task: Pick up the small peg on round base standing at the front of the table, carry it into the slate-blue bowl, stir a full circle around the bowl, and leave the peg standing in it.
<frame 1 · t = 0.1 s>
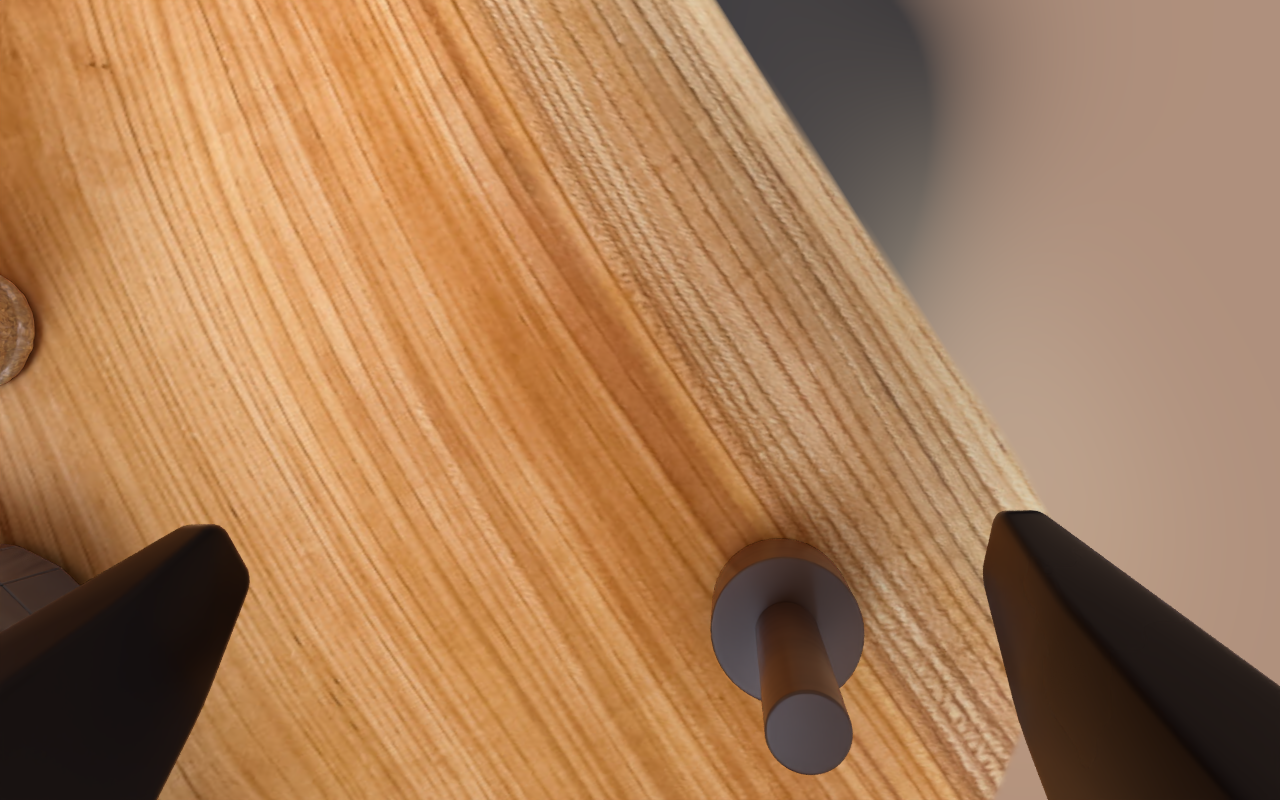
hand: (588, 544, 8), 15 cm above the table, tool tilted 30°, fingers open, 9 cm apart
bowl: (4, 698, 27), on the table
peg on round base: (780, 605, 23), on the table
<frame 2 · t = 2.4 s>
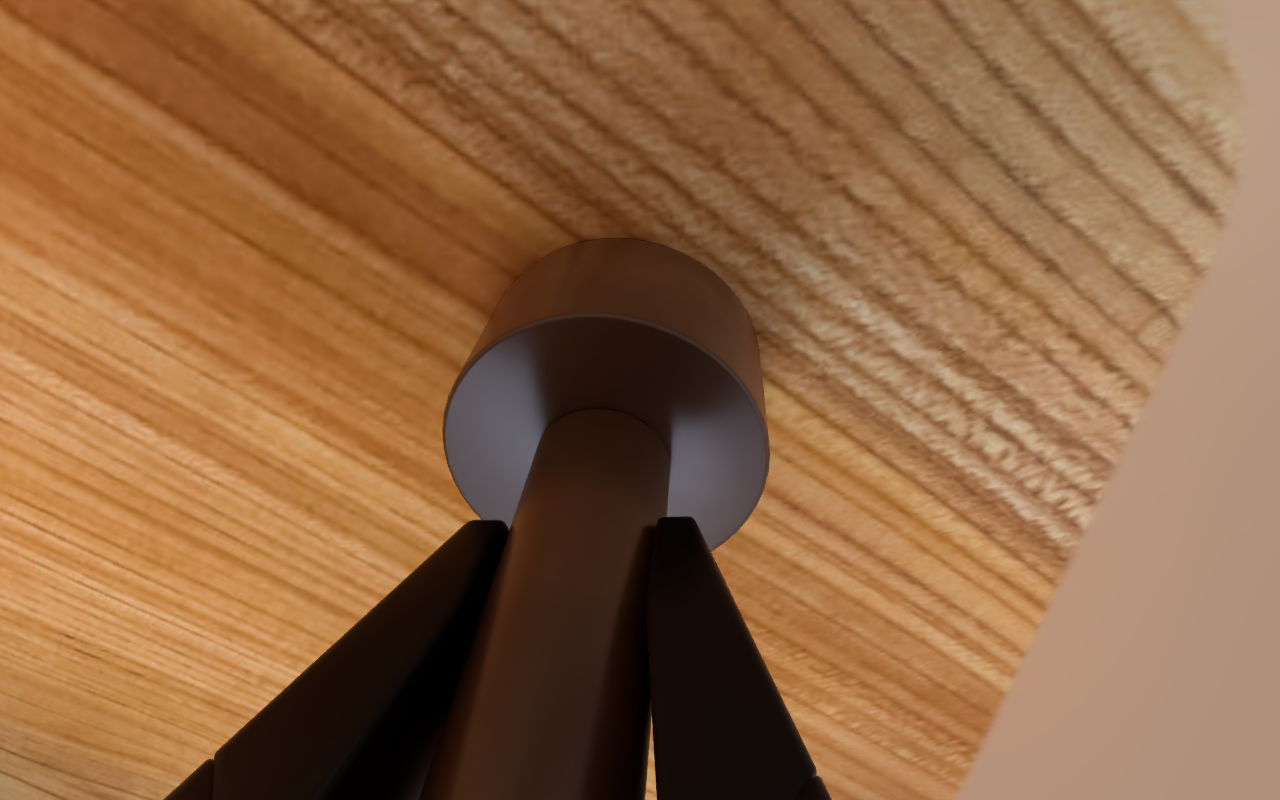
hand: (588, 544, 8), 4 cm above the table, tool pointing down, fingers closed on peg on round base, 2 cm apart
peg on round base: (622, 366, 12), on the table, touching gripper
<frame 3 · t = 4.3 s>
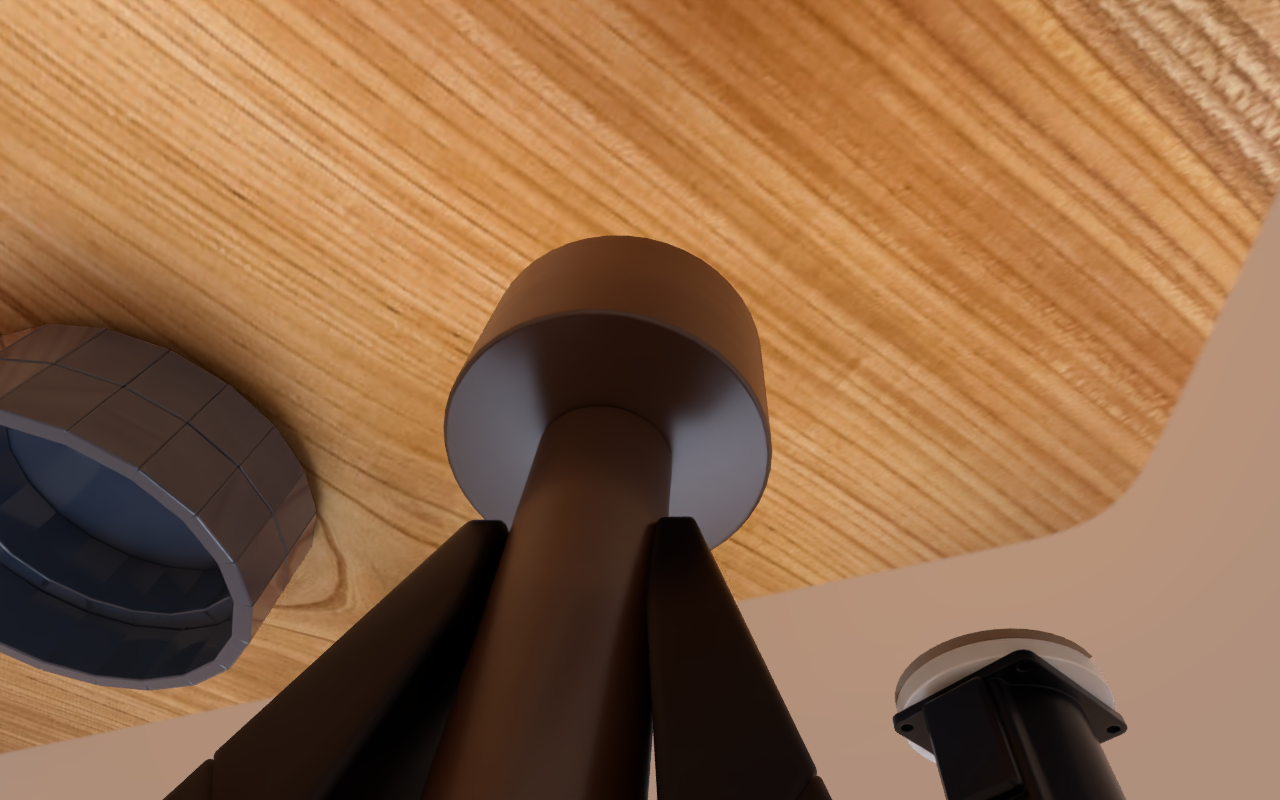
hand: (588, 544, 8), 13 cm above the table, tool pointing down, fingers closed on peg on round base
bowl: (156, 466, 26), on the table
peg on round base: (624, 364, 12), point 9 cm above the table, touching gripper
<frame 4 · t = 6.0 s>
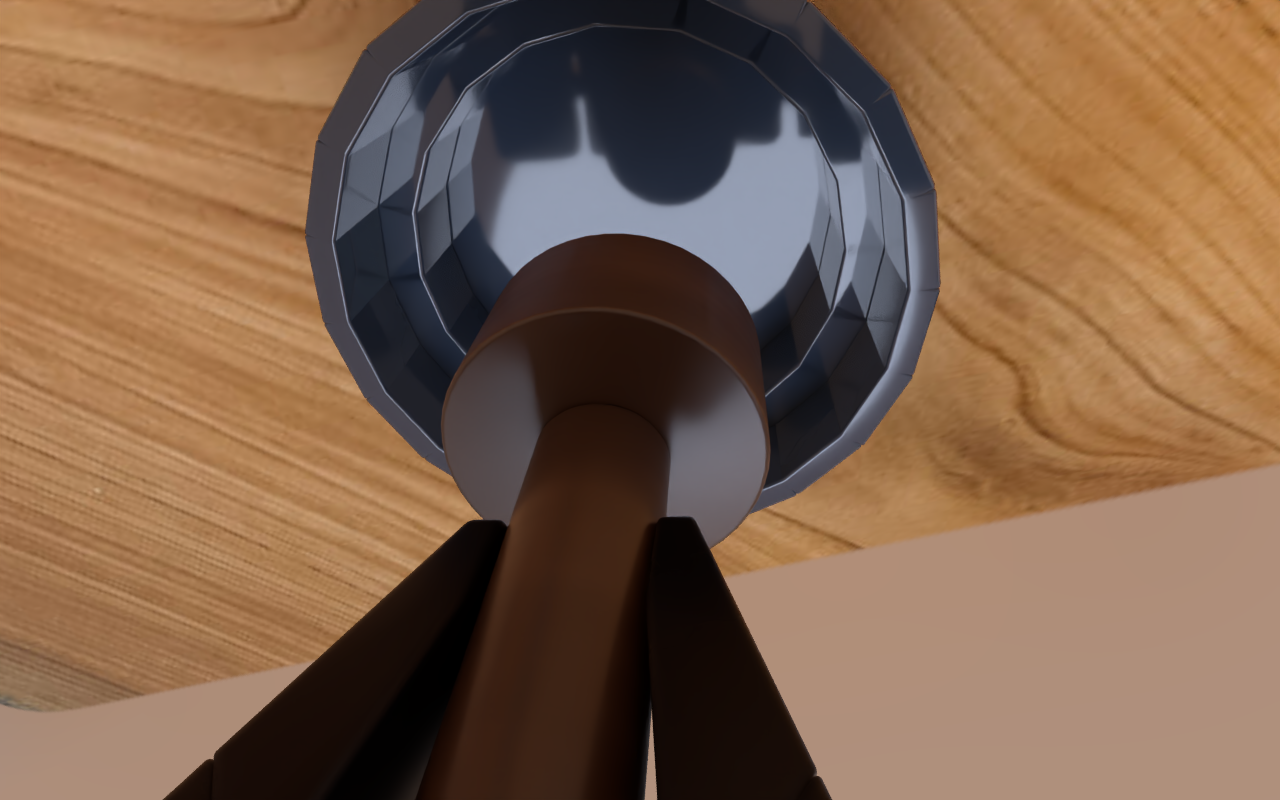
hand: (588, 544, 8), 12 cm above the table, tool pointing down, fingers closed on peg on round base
bowl: (637, 220, 18), on the table
peg on round base: (622, 362, 12), point 8 cm above the table, touching gripper
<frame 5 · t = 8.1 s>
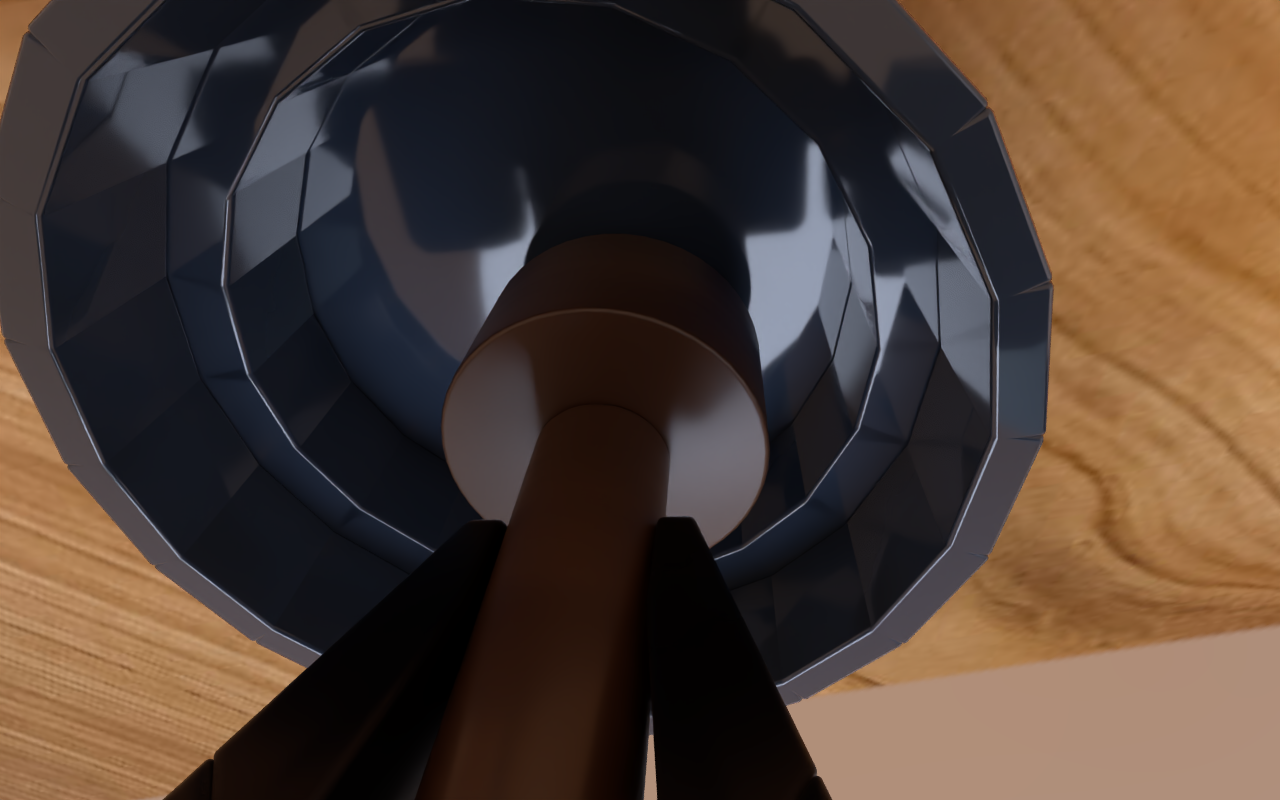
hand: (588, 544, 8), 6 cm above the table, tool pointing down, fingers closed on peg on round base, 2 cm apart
bowl: (576, 283, 13), on the table
peg on round base: (622, 362, 12), point 2 cm above the table, touching gripper
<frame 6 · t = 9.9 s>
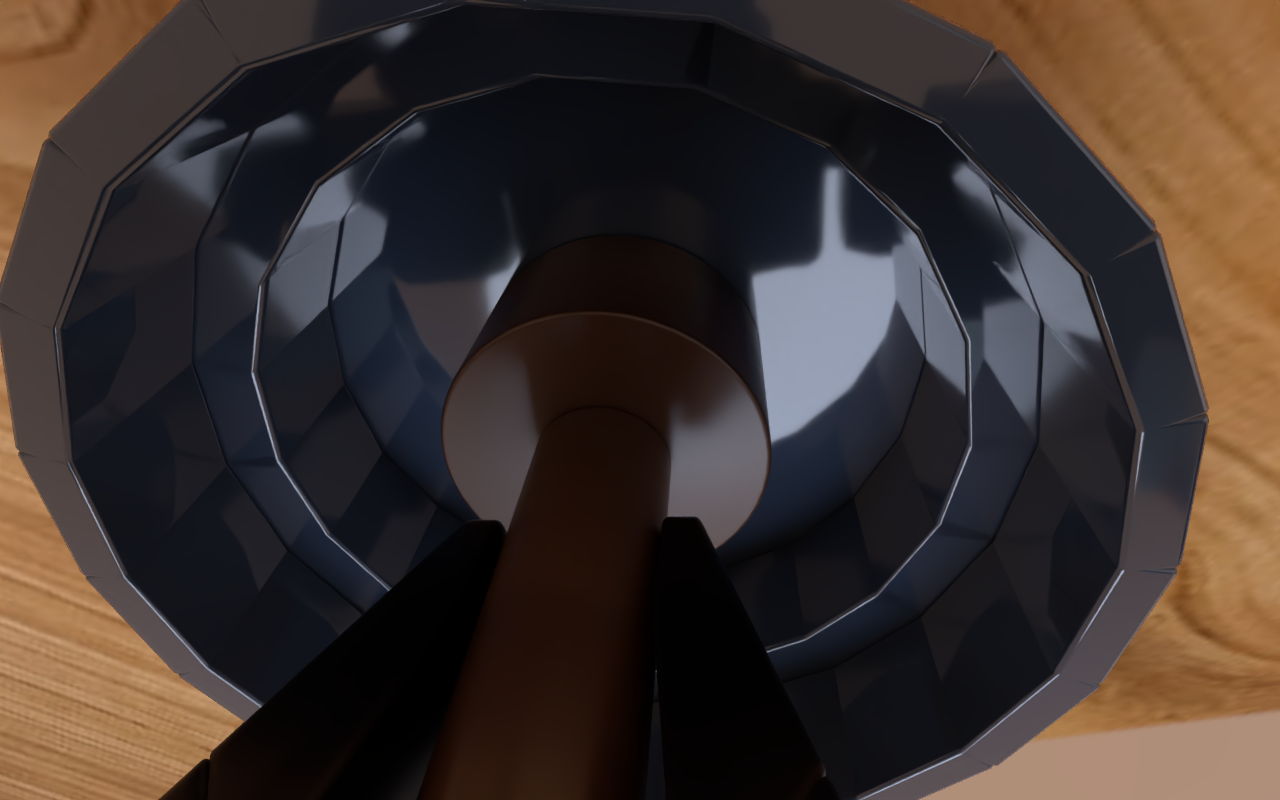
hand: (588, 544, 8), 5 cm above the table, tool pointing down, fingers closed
bowl: (624, 351, 12), on the table
peg on round base: (623, 364, 12), point 1 cm above the table, touching bowl
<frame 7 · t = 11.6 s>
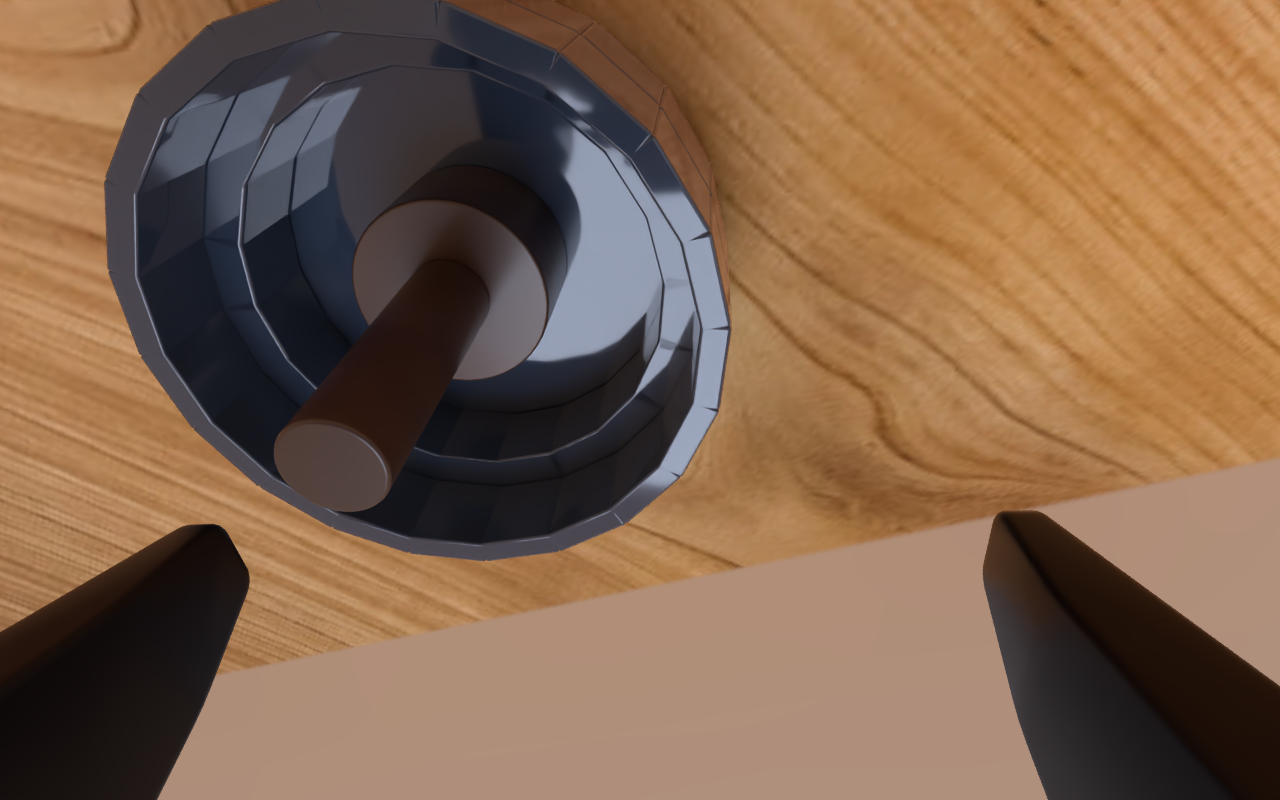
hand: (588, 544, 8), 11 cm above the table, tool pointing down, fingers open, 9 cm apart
bowl: (484, 248, 18), on the table
peg on round base: (479, 253, 18), point 1 cm above the table, touching bowl
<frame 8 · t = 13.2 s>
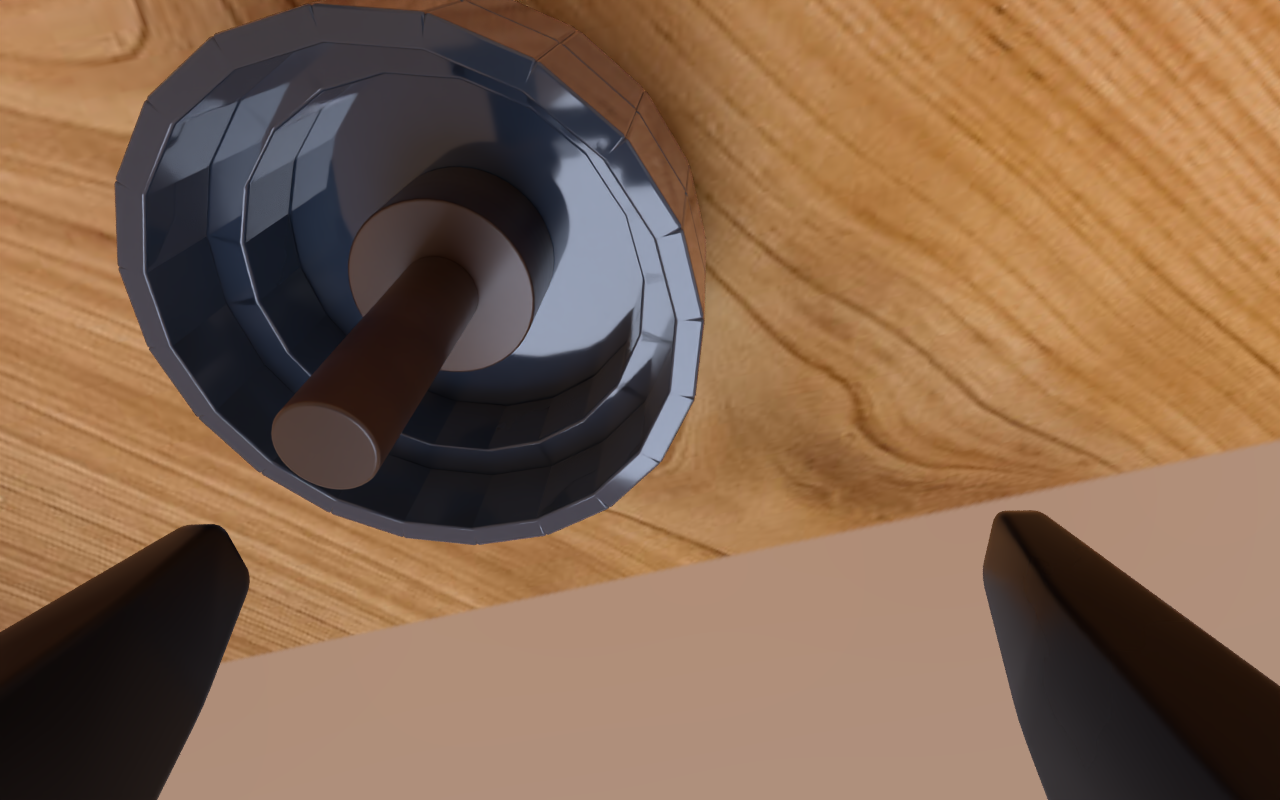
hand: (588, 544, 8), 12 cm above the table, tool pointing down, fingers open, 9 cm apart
bowl: (476, 246, 19), on the table
peg on round base: (470, 251, 19), point 1 cm above the table, touching bowl
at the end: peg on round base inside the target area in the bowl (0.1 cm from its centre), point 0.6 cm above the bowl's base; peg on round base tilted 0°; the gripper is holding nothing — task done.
